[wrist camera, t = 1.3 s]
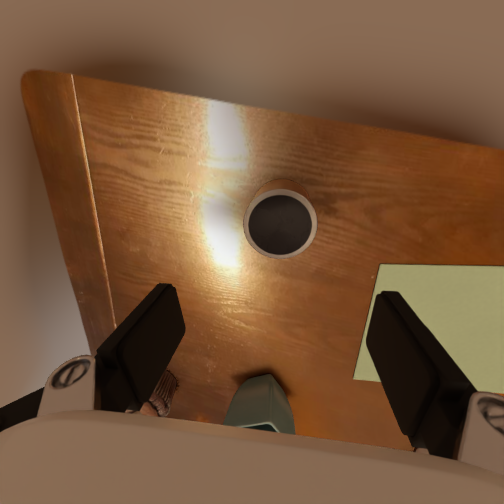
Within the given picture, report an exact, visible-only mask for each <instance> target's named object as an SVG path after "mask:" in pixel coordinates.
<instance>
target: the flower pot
mask: <svg viewBox="0 0 504 504" xmlns="http://www.w3.org/2000/svg"><path fill="white" fill-rule="evenodd" d="M223 425H225V426H233V427H241V428H248V429H256V430H263V431H271V432H278V433H286V434H293V435H296V434H295V426H294V419H293V414H292V410H291V407H290V404H289V402H288V399H287V397H286V395H285V393H284V391H283V389H282V388H281V387H280V386H279V384H278V383H277V382H276V380H275V379H274V378H273V376H272V375H271V374H267V375H262V376H259V377H254V378H250V379H247V380H246V381H245V382H244V383H243V384H242V385H241V386H240V387H239V389H238V390H237V391H236V393H235V395H234V397H233V399H232V401H231V403H230V406H229V409H228V412H227V415H226V417H225V420H224V423H223Z"/></svg>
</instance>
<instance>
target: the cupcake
mask: <svg viewBox="0 0 504 504" xmlns="http://www.w3.org/2000/svg"><path fill="white" fill-rule="evenodd" d="M176 383H177V381H176V379H175V378H174V377H173V376H172V375H171V373H170V372H168V371H166V370H165V371H164V373H163V375H162V377H161V379H160V380H159V382H158V384H157V386H156V388H155V390H154V392H153V393H152V395H151V397H150V399H149V400H148V401H147V402H146V403H144V404H143V406H142V408H141V410H140V411H133V410H126V411H125V413H130V414H139V415H147V416H155V417H163V418H164V417H165V416H166V415H168V413H169V411H170V408H171V402H172V399H173V395H174V391H175V388H176V385H177V384H176Z"/></svg>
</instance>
